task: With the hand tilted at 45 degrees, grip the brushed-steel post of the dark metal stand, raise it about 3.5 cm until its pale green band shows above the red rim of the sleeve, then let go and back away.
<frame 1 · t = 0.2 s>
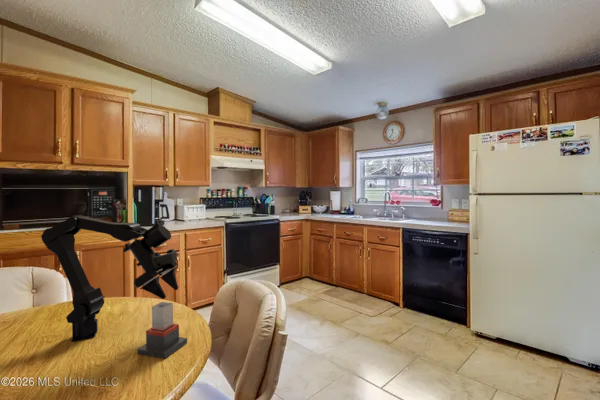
hand: (171, 293, 102), 14 cm above the table, tool tilted 35°, fingers open, 9 cm apart
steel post: (162, 323, 94), point 8 cm above the table, slide at 0.0 cm
stand: (163, 348, 94), on the table
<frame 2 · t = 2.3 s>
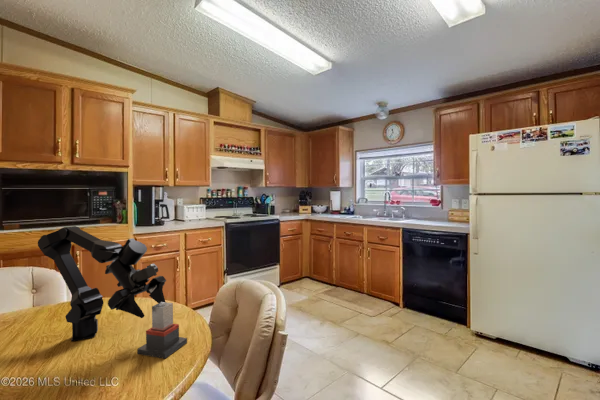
hand: (154, 311, 94), 11 cm above the table, tool tilted 45°, fingers open, 9 cm apart
nothing on the table moved.
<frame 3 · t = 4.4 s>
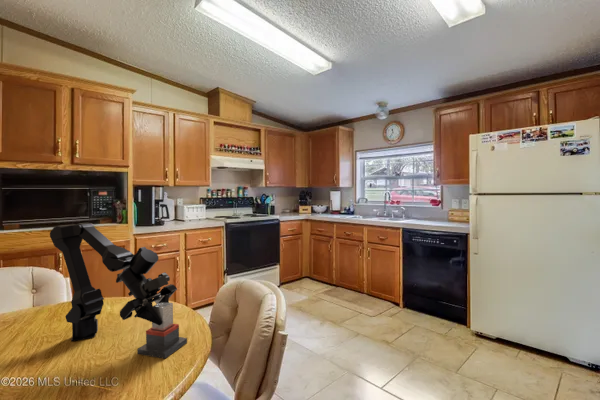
hand: (166, 321, 93), 9 cm above the table, tool tilted 45°, fingers closed on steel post, 4 cm apart
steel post: (162, 323, 94), point 8 cm above the table, slide at 0.0 cm, touching gripper
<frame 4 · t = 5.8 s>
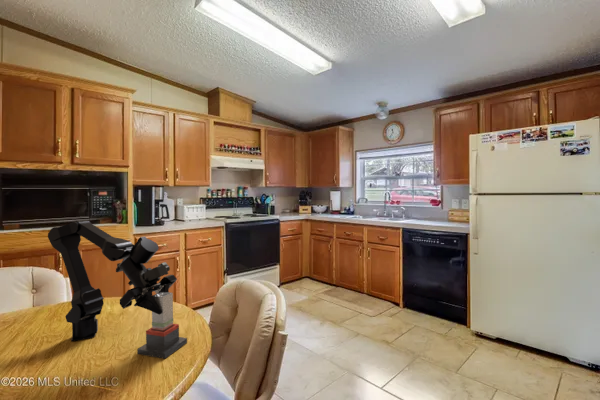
hand: (166, 310, 93), 12 cm above the table, tool tilted 45°, fingers closed on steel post, 4 cm apart
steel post: (162, 313, 94), point 11 cm above the table, slide at 3.3 cm, touching gripper
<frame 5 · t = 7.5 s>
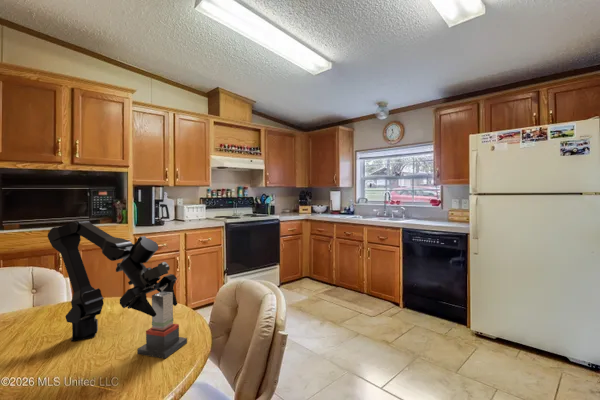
hand: (166, 310, 93), 12 cm above the table, tool tilted 45°, fingers open, 9 cm apart
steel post: (162, 313, 94), point 11 cm above the table, slide at 3.4 cm
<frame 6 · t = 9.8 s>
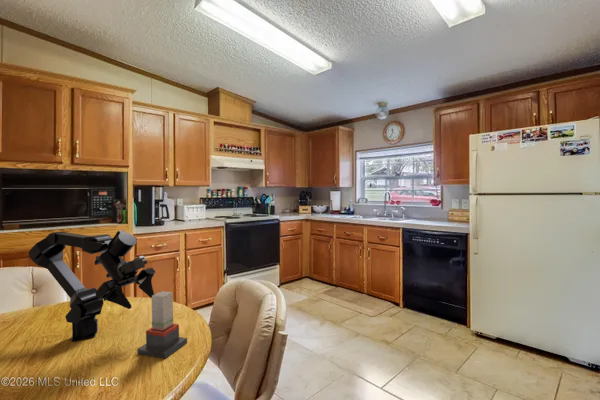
hand: (142, 302, 96), 13 cm above the table, tool tilted 45°, fingers open, 9 cm apart
nothing on the table moved.
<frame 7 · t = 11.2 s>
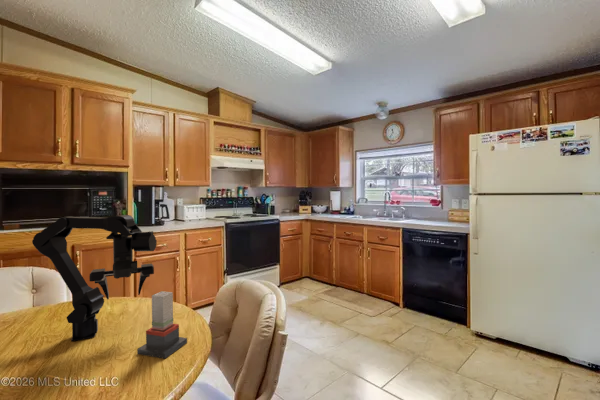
hand: (123, 296, 103), 13 cm above the table, tool pointing down, fingers open, 9 cm apart
nothing on the table moved.
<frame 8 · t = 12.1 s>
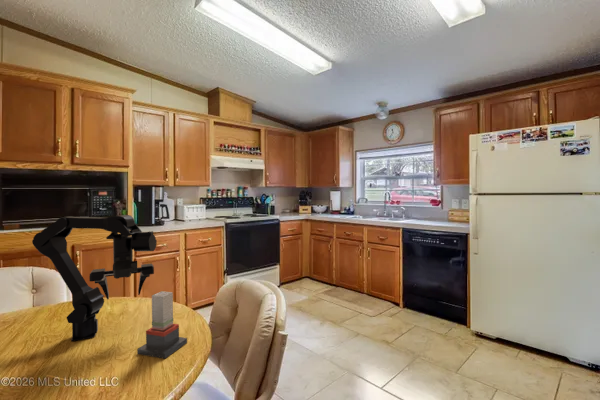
hand: (123, 296, 103), 13 cm above the table, tool pointing down, fingers open, 9 cm apart
nothing on the table moved.
at the end: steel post slide at 3.4 cm; the gripper is holding nothing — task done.
